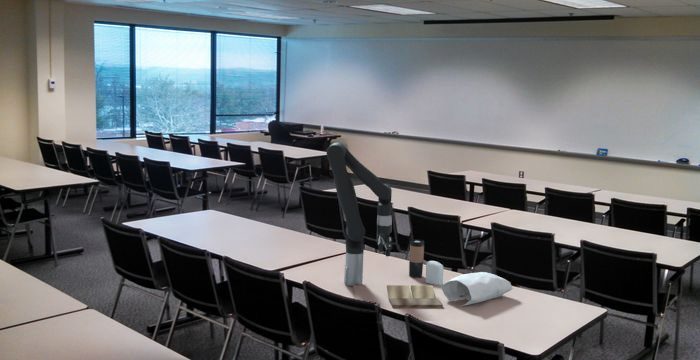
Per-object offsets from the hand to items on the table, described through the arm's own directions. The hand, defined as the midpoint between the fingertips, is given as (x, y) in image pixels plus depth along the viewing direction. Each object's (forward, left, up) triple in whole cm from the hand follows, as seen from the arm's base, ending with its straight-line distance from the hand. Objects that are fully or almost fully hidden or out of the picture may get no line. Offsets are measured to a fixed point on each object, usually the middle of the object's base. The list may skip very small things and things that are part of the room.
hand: (384, 254), depth 328 cm
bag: (+44, -19, -18) cm, 51 cm away
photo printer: (+28, +5, -18) cm, 34 cm away
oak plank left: (+5, -20, -15) cm, 25 cm away
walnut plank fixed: (+11, -29, -17) cm, 35 cm away
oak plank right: (+17, -20, -15) cm, 30 cm away
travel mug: (+21, +19, -18) cm, 34 cm away
